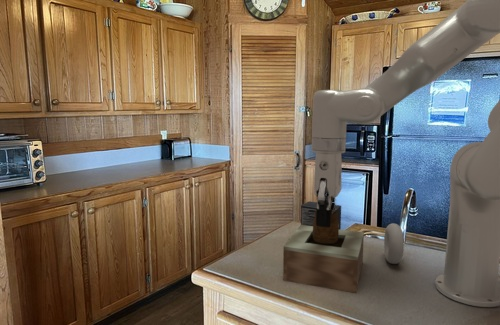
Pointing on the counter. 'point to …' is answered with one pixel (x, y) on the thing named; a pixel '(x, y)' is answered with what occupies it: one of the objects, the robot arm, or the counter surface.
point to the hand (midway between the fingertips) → (325, 221)
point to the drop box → (324, 260)
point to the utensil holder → (327, 229)
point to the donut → (393, 243)
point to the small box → (309, 213)
